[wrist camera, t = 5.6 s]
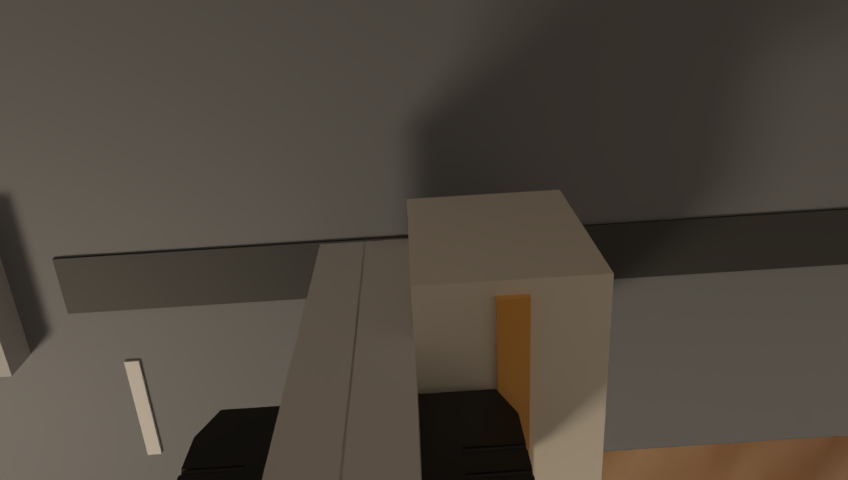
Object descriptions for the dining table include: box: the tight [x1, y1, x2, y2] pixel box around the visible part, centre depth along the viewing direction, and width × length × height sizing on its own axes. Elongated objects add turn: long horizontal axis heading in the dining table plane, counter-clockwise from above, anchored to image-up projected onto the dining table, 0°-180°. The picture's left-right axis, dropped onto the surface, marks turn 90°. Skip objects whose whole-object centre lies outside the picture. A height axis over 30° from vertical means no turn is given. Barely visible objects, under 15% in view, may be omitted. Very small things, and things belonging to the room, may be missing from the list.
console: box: [0, 0, 848, 480], centre depth 13 cm, size 26×18×3 cm
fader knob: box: [407, 190, 614, 480], centre depth 11 cm, size 2×4×5 cm, turn 3°
